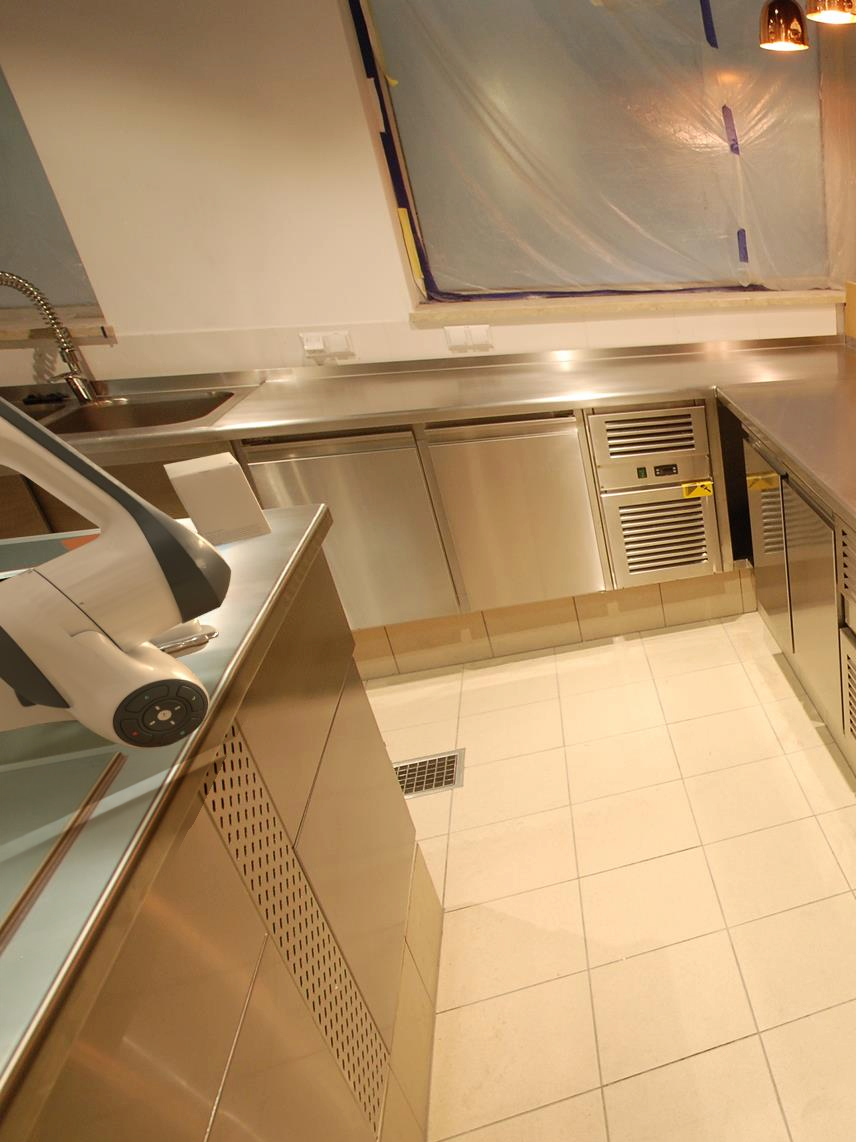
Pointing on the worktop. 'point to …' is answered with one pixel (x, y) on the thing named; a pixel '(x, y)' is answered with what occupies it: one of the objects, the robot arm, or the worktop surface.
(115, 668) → the robot arm
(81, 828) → the worktop surface
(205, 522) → the white product box
